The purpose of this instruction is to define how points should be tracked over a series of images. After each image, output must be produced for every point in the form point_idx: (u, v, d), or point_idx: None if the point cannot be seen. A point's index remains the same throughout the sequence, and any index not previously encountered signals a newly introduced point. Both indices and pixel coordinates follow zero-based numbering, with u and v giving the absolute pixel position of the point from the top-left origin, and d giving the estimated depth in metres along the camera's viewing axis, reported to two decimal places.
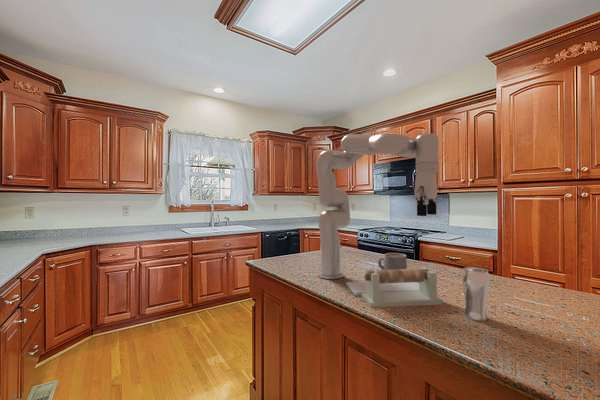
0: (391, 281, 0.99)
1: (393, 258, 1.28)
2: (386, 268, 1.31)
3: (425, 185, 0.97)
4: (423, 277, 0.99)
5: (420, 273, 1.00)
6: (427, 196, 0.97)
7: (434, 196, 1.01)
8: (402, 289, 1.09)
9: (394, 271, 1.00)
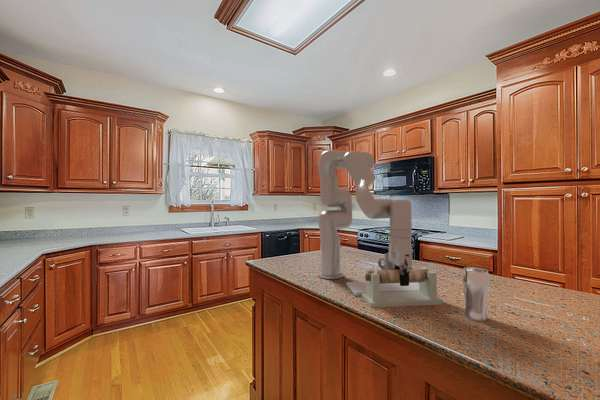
0: (391, 282, 0.99)
1: None
2: (386, 268, 1.31)
3: (410, 253, 0.96)
4: (423, 279, 0.99)
5: (421, 276, 0.99)
6: (411, 264, 0.96)
7: None
8: (402, 289, 1.09)
9: (396, 273, 0.99)
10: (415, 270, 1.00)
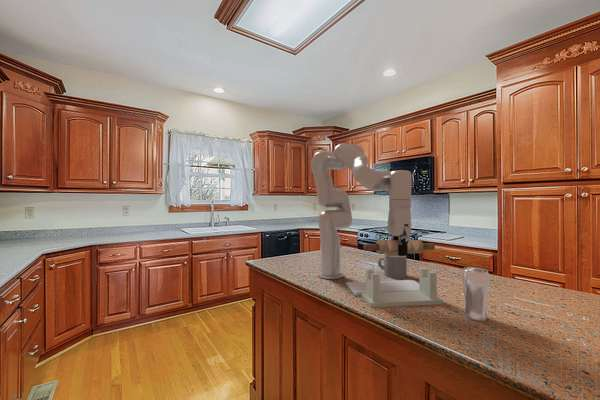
0: (389, 253, 1.00)
1: (393, 258, 1.28)
2: (386, 268, 1.31)
3: (409, 223, 0.96)
4: (421, 250, 1.00)
5: (420, 246, 1.00)
6: (410, 234, 0.97)
7: None
8: (402, 289, 1.09)
9: (394, 243, 0.99)
10: (414, 241, 1.01)
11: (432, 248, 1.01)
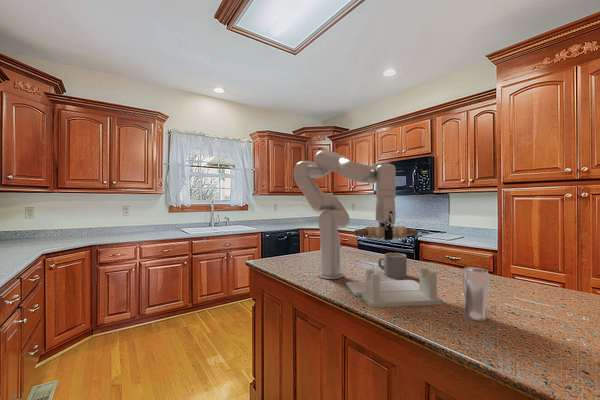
0: (377, 237, 1.12)
1: (393, 258, 1.28)
2: (386, 268, 1.31)
3: (393, 211, 1.09)
4: (405, 235, 1.12)
5: (404, 231, 1.12)
6: (394, 220, 1.09)
7: None
8: (402, 289, 1.09)
9: (381, 229, 1.12)
10: (398, 227, 1.13)
11: (415, 233, 1.14)
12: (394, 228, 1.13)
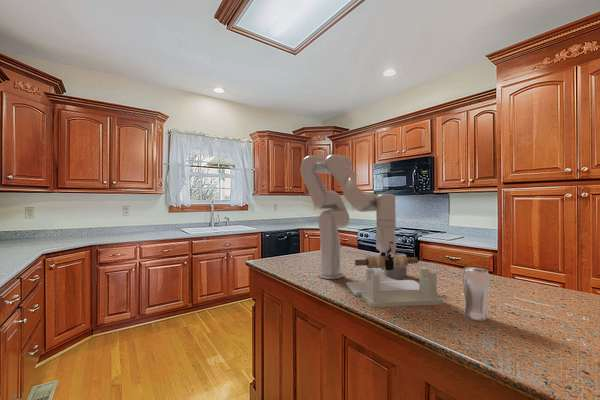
0: (377, 267, 1.12)
1: None
2: None
3: (394, 241, 1.09)
4: (406, 264, 1.12)
5: (404, 261, 1.12)
6: (395, 250, 1.09)
7: None
8: (402, 289, 1.09)
9: (382, 259, 1.12)
10: (399, 256, 1.13)
11: (416, 262, 1.14)
12: (395, 257, 1.13)
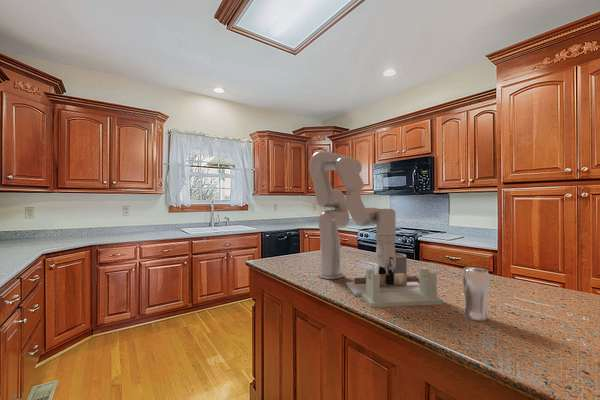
0: None
1: None
2: None
3: (394, 256, 1.09)
4: (405, 283, 1.13)
5: (403, 280, 1.12)
6: None
7: None
8: (402, 289, 1.09)
9: (381, 277, 1.12)
10: (398, 275, 1.14)
11: (415, 280, 1.14)
12: (394, 276, 1.13)
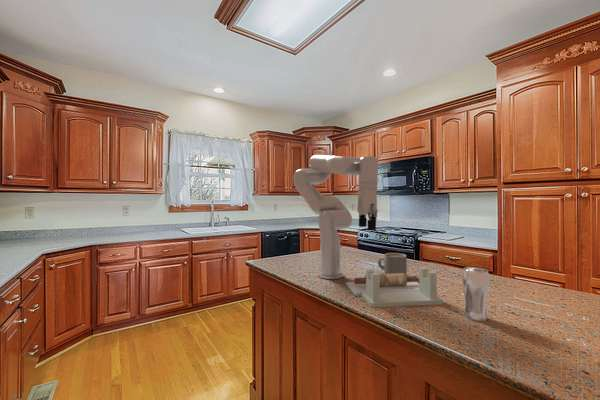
0: None
1: (393, 258, 1.28)
2: (386, 268, 1.31)
3: (375, 203, 1.09)
4: (405, 283, 1.13)
5: (403, 280, 1.12)
6: None
7: None
8: (402, 289, 1.09)
9: (381, 277, 1.12)
10: (398, 275, 1.14)
11: (415, 280, 1.14)
12: (394, 276, 1.13)
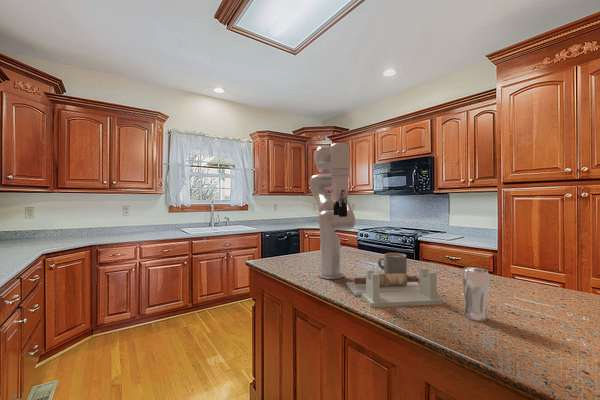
0: None
1: (393, 258, 1.28)
2: (386, 268, 1.31)
3: (345, 189, 1.08)
4: (405, 283, 1.13)
5: (404, 280, 1.12)
6: (347, 199, 1.09)
7: None
8: (402, 289, 1.09)
9: (381, 278, 1.12)
10: (399, 275, 1.13)
11: (415, 281, 1.14)
12: (394, 276, 1.13)
